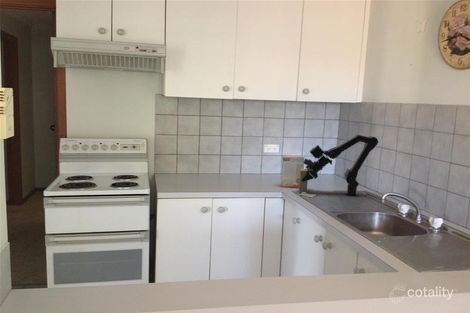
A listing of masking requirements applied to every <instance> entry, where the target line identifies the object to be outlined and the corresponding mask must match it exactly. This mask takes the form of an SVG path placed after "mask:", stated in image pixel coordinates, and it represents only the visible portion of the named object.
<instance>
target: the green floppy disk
mask: <svg viewBox="0 0 470 313" xmlns="http://www.w3.org/2000/svg"><path fill="white" fill-rule="evenodd" d="M299 195H303V196H302V197H304V196H307V197H306V198H310V197H312V198H314V197H316V194H314V193H308V192H307V193H299Z"/></svg>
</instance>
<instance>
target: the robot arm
mask: <svg viewBox="0 0 470 313" xmlns="http://www.w3.org/2000/svg"><path fill="white" fill-rule="evenodd" d="M360 142H361V143H364V145H363V148H362V150H361V152H360V154H359V155H358V157H357V158H356V160H355V162H354V163H353V164H352V167H351V168H347V169H346V170H345V173H344V175H343V178H344V181H345V182H347V189H346V193H345V195H346V196H353V197H357V196H358V195H359V193H357V190H358V187H359V184H360V183H359V182H358V181H357V178H358V173H359V170H360V169H361V167H362V165H363V164H364V162H365V161H366V159H367V157H368V155H370V152H372V151H373V149H375V148H376V146H378V144H379V140H378V138H377V137H375V136H372V135H371V136H370V135H369V136H365V135H361V134H355V136H353V137H352V138H350V139H348V140H347V141H345V142H343V143H341V144H340V145H337V146H334V147H331V148H329V149H326V150H323V149H322V148H321V147H320V145H319V144H317V145H316V146H314V147H312V148H311V149H310V150H309V154H311V155H312V156H313V157H314V159H317V160H314V161H313V160H312V159H308V158H304V162H303V163H304V165H305V168H304V169H308V171H307V174H306V176H305V177H304V178H303V179H302V180H301V181H302V182H304V181H307V180H308V181H309V180H314V179H315V180H317V178H318V173H319V172H320V171H322V170H323V168H325V167H326V166H327V165H328V164H330V165H333V160H334V159H337V158H338V157H339V156H340V155H341V154H342V153H343V152H344V151H346V150H348V149H349V148H352V146H355V145H356V144H357V143H360ZM332 159H333V160H332Z"/></svg>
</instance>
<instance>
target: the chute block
mask: <svg viewBox="0 0 470 313" xmlns="http://www.w3.org/2000/svg"><path fill="white" fill-rule="evenodd" d="M307 171H308V169H307V168H306V169H305V168H304V169H300V182H299V188H298V192H307V193H308V181H309V180H307V181H304V182H302V181H301V180H302V179H303V178H304V177H305V176H306V174H307Z"/></svg>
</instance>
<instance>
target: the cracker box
mask: <svg viewBox="0 0 470 313" xmlns="http://www.w3.org/2000/svg"><path fill="white" fill-rule="evenodd" d="M304 160H305V156H303V155H293V154H288V155H287V154H282V155H281V174H280V175H281V176H280V186H281V188H295V187H297V189H299V182H300V169H305V168H304V167H305V164H304V163H303V162H304Z"/></svg>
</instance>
